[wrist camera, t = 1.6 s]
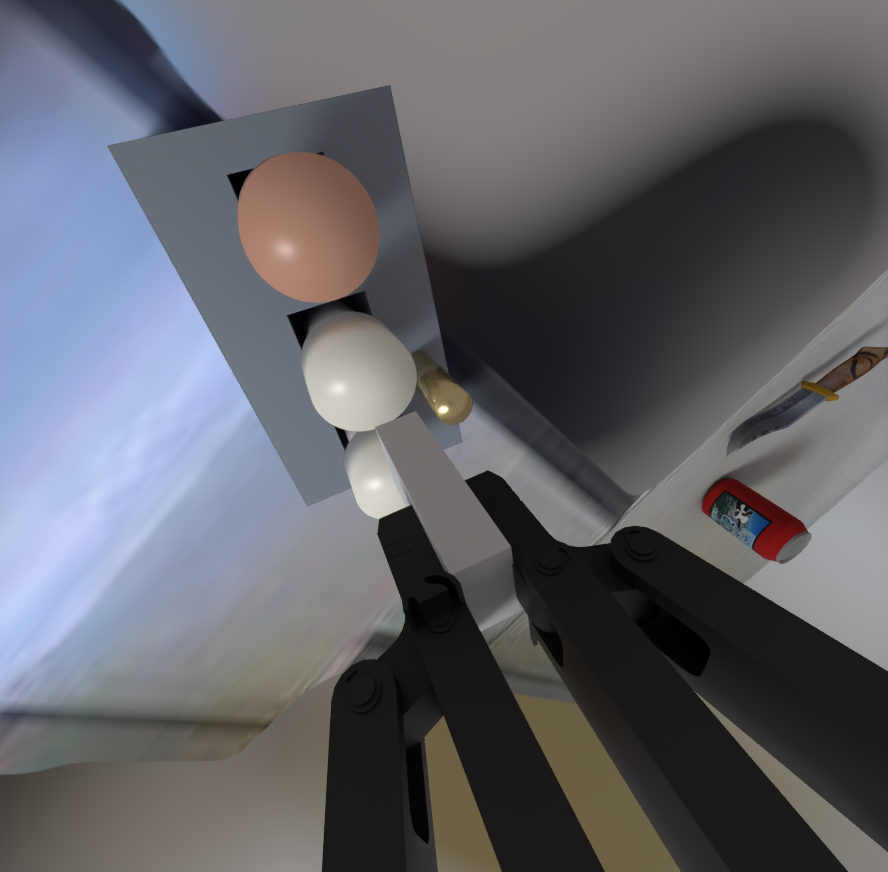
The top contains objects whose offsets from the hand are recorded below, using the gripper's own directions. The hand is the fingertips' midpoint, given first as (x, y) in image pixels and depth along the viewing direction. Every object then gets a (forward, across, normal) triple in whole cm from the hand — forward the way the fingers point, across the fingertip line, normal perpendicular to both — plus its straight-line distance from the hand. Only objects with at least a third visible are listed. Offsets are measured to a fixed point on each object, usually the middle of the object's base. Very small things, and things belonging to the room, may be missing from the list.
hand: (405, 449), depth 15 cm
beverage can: (+18, +46, -44) cm, 66 cm away
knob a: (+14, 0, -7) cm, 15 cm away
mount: (+18, 0, 0) cm, 18 cm away
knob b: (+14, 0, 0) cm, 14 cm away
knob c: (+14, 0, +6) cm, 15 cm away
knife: (+18, +54, -29) cm, 64 cm away
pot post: (+12, +4, -3) cm, 13 cm away
